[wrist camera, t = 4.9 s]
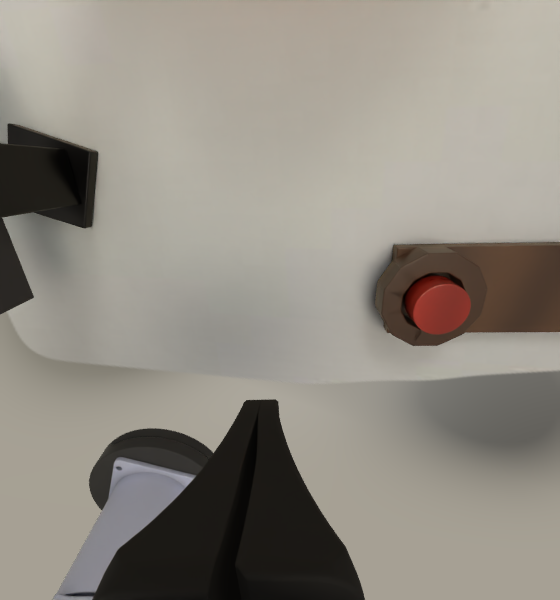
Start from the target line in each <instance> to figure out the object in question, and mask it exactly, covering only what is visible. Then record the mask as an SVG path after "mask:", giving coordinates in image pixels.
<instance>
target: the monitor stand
mask: <svg viewBox="0 0 560 600" xmlns="http://www.w3.org/2000/svg"><path fill="white" fill-rule="evenodd" d="M97 156H98V152H96V151H94V150H91V149H88V148H85V147H82V146H79V145H76V144H73V143H70V142H67V141H64V140H61V139H58V138H55V137H52V136H49V135H46V134H43V133H41V132H38V131H35V130H32V129H29V128H26V127H23V126H20V125H15V124H8V144H1V143H0V218H2V217H8V216H14V215H20V214H26V213H31V212H34V213H37V214H40V215H43V216H47V217H50V218H53V219H56V220H59V221H62V222H66V223H69V224H72V225H75V226H78V227H82V228H88V227H91V226H92V217H93V205H94V193H95V181H96V169H97Z"/></svg>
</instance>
